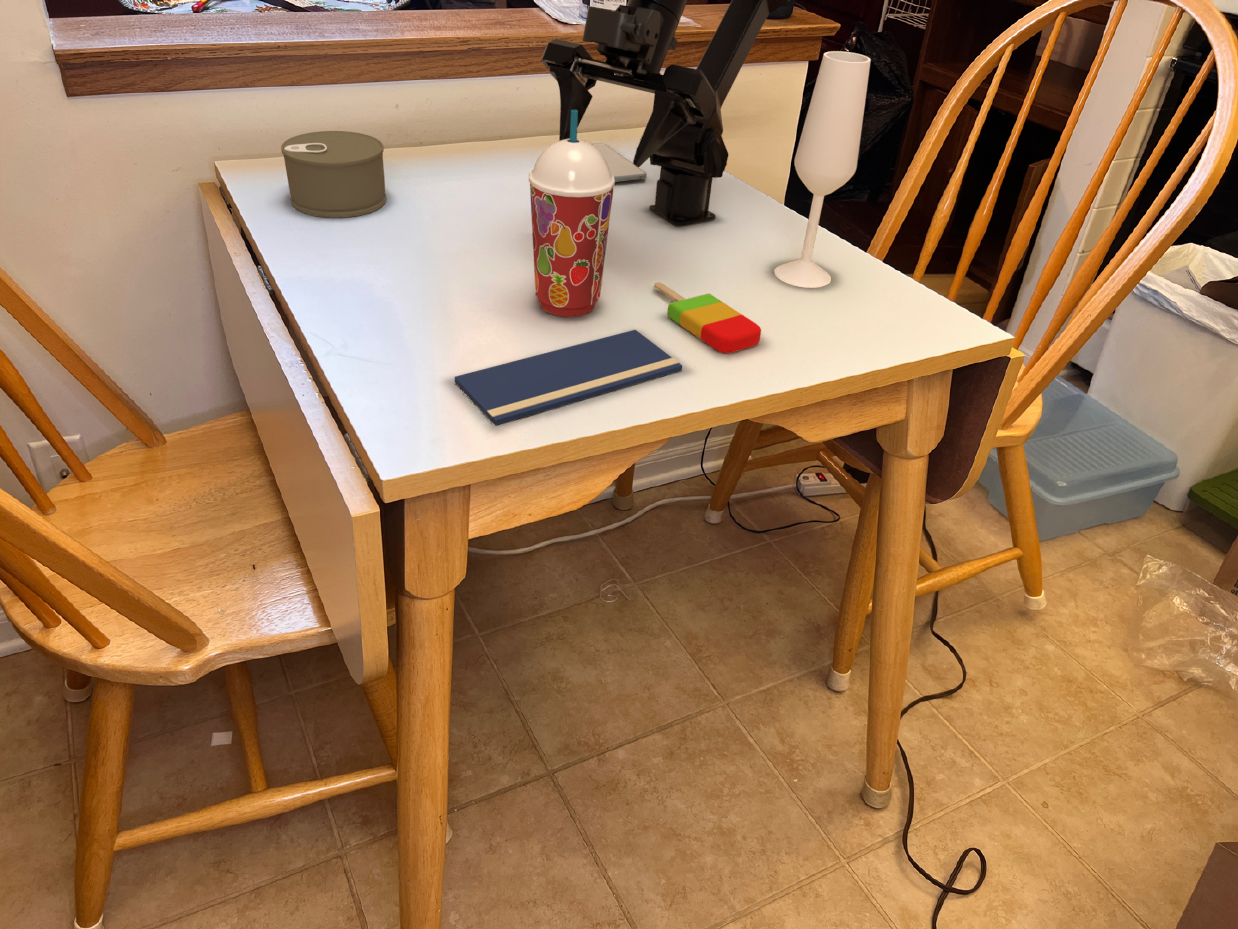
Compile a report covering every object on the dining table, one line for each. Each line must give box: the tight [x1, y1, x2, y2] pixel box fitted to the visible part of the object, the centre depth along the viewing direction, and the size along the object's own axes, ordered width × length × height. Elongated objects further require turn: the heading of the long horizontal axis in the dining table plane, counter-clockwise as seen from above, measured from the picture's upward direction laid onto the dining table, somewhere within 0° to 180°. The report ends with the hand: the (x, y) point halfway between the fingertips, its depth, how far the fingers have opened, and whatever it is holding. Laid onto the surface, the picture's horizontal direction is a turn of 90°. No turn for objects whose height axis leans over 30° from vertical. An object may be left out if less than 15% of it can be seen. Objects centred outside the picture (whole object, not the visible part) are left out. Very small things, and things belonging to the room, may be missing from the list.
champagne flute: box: [773, 50, 872, 289], centre depth 100 cm, size 7×7×24 cm
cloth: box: [454, 329, 683, 426], centre depth 85 cm, size 20×8×1 cm, turn 124°
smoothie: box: [528, 110, 616, 318], centre depth 91 cm, size 8×8×20 cm
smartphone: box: [590, 142, 648, 183], centre depth 132 cm, size 8×1×15 cm
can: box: [280, 130, 387, 219], centre depth 113 cm, size 12×12×7 cm
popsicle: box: [653, 281, 762, 354], centre depth 95 cm, size 6×15×2 cm, turn 34°
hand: (598, 155), depth 96 cm, fingers open, 9 cm apart
